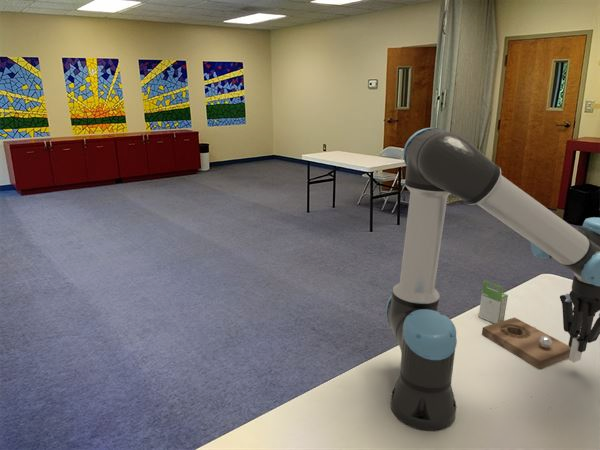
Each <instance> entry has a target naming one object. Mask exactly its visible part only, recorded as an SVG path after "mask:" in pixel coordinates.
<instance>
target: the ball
mask: <svg viewBox="0 0 600 450" xmlns="http://www.w3.org/2000/svg"><path fill="white" fill-rule="evenodd" d="M539 344H540V346H541V347H543V348H549V347H551V345H552V340H551V339H550V338H549V337H547V336H542V337H540V339H539Z"/></svg>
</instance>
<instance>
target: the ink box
mask: <svg viewBox="0 0 600 450" xmlns="http://www.w3.org/2000/svg"><path fill="white" fill-rule="evenodd" d="M482 283H483V284H482V290H481V297H480V303H479V304H480V305H479V311H478V312H479V313H478V318H479V319H480V318H481V319H483V320H486V321H487V322H489V323H492V324H495V323H498V322H501V321H505V316H506V311H507V310H506V309H507V303H508V298H509V294H507V293H504V292H503V291H504V287H503V286H500V285H498V284H494V283H491V282H489V281H486V280H483V282H482ZM491 287H493V288H495V289H493V288H491Z"/></svg>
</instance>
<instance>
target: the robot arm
mask: <svg viewBox="0 0 600 450" xmlns="http://www.w3.org/2000/svg"><path fill="white" fill-rule="evenodd" d="M403 148H404V149H403V155H402V156H403V161H404V165H405V166H406V170H405V180H404V186H405V187H406V188H407V190H408V191H409V193H410V194H409V203H408V209H407V218H406V219H407V220H406V227H405V235H404V244H403V245H404V246H403V253H402V260H401V268H400V276H399V278H400V279H399V283H397V284H395V285H394V286H393V288H392V293H391V295H390V297H389V298H388V300H387V301H386V308H385V313H386V318H387V322H388V324H389V327H390V328H391V330H392V332H393V334H394V337H395V339H396V341H397V344H398V346H399V348H400V352H401V358H400V359H401V360H400V370H399V371H400V373H399V377H398V380H396V384H395V386H394V388H393V389H392V391H391V396H390V408H391V411H392V413H393V415H394V416H395V417H396V418H397V419H398V420H399V421H401V423H404V424H405V425H408V426H410V427H412V428H414V429H418V430H424V431H439V430H442V429H446V428H447V427H449V426H451V424H453V422H454V421H455V419H456V414H457V402H456V399H455V394H454V392H453V387H452V377H453V370H454V361H455V354H456V353H455V352H456V347H457V343H458V342H457V329H456V328H457V327H456V326H455V324H454V322H453V321H452V320H451V319H450V318H449V317H448V316H447V315H445V314H441V312H439V302H440V293H439V291H438V290H437V289H436V288H435V287H436V280H437V273H438V267H439V266H438V265H439V259H440V250H441V244H442V238H443V230H444V223H445V218H446V216H445V215H446V210H447V201H448V197H449V196H450V195H452V196H455V197H457V198H458V199H460V200H462V201H463V202H465V203H466V204H467V205H470V206H474V205H477V206H479V207H480V208H482V209H483V210H485V211H486V212H487V213H489V214H490V215H492V216H493V217H494V218H496V219H498V220H499V221H501V222H502V223H503V224H505V225H506V226H507V227H509V228H510V229H512V230H514V232H515V233H518V235H520V236H522V237H523V238H525V240H526V239H527V240H528V241H529V242H530V250H531V252H532V254H533V256H534V257H535V258H538V259H543V260H544V259H545V260H549V259H550V260H551V259H552V260H555V261H556V262H557V263H559V264H561V265H562V266H563V267H565V268H567V269H568V270H570V271H571V272H573V274H574V276H573V279H572V283H571V291H570V292H569V293H564V294H562V295H559V299H560V302H561V305H562V307H561V308H562V309H561V310H562V325H563V331H564V332H565V333H568V334H569V340H568V346H569V347H571V350H570V355H569V357H568V360H569V361H570V362H571V363H576V362H579V361H581V359H582V355H583V353H584V352H585V351H586V350H587V346H588V344H590V343H593V342H595V341H597V340H598V338H599V336H600V217H595V216H593V217H588V218H585V220H584V221H583V223H582V226H581V227H580V226H579V227H574V226H572V225H571V224H569V222H567V221H566V220H564V219H563V218H561V217H559V216H558V215H557V214H556V213H554V212H553V211H551V210H550V209H548V208H547V207H546V206H545V205H543V204H542V203H541V202H539V201H538V200H536V199H535V198H534V197H532V196H531V195H529V194H528V193H527V192H525V191H524V190H523V189H521V188H519V186H517V185H516V184H514V183H513V182H512V181H510V180H509V179H507V178H506V177H505V176H504V175H502V169H501V167H500V166H499V165H497V164H496V163H495V162H493V161H492V160H491V159H489V158H488V157H487V156H486V155H485V154H484V153H483V152H481V151H480V150H479V149H478V148H477V147H476V146H474V145H473V143H471V142H470V141H469V140H467V139H466V138H465V137H463V136H462V135H460V134H458V133H453V132H450V131H447V130H446V129H443V128H438V127H425V128H423V129H420V130H417V131H416V132H414V133H413V134H412V135H411V136H410V137H409V138H408V140H407V141H406V142H405V144H404V147H403ZM598 312H599V313H598ZM597 313H598V318H597V319H596V320H595V322H594V318H595V316H596V314H597ZM593 322H594V324H593Z"/></svg>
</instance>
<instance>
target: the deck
mask: <svg viewBox="0 0 600 450" xmlns="http://www.w3.org/2000/svg"><path fill="white" fill-rule="evenodd" d="M481 335H482V336H484V337H485V338H488V339H489V340H491V342H494V343H495V344H497V345H498V346H500V347H502V348H503V349H505V350H507V351H508V352H510V353H511V354H513V355H515V356H516V357H519V358H520V359H521V360H523V361H525V362H526V363H528V364H530V365H532V366H533V367H535V368H536V369H538V370H540V369H542V368H544V367H547V366H550V365H552V364H556V363H557V362H560V361H562V360H566V359H569V355H570V350H571V347H569V344H566V343H564V342H562V341H560V340H559V339H557V338H555V337H553V336H551V335H549V334H548V333H545V332H543V331H541V330H540V329H538V328H536V327H534V326H532V325H531V324H528V323H526V322H524V321H523V320H520V319H518V318H517V317H512V318H508V319H504V321H501V322H498V323H495V324H494V323H492V324H489V325H485V326H482V330H481ZM542 336H547V337H549V338H550V339H551V340H552V345H551V347H549V348H543V347H541V346H540V344H539V339H540V337H542Z"/></svg>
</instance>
